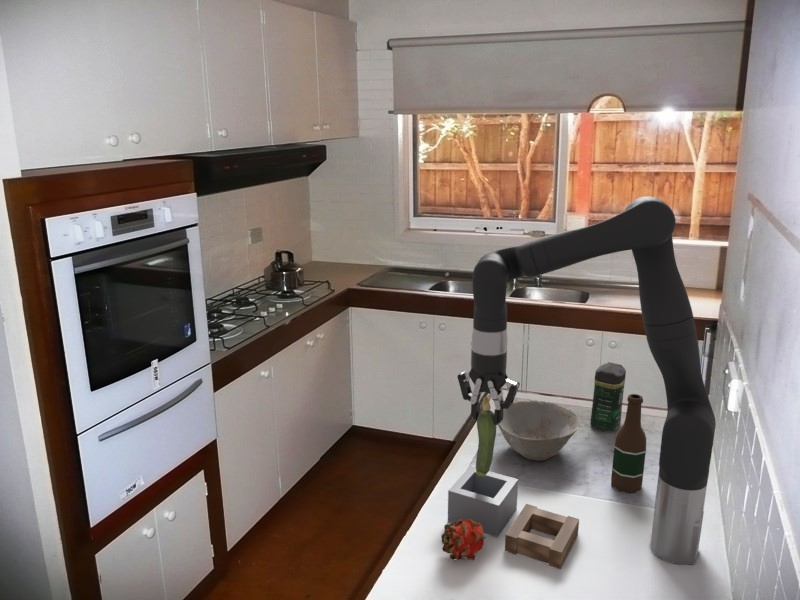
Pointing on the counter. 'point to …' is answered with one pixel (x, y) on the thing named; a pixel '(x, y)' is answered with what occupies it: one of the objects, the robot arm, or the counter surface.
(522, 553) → the board
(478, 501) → the holder
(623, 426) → the beer bottle
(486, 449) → the vegetable
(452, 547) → the dragon fruit
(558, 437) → the ceramic bowl
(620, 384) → the coffee jar
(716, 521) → the counter surface
